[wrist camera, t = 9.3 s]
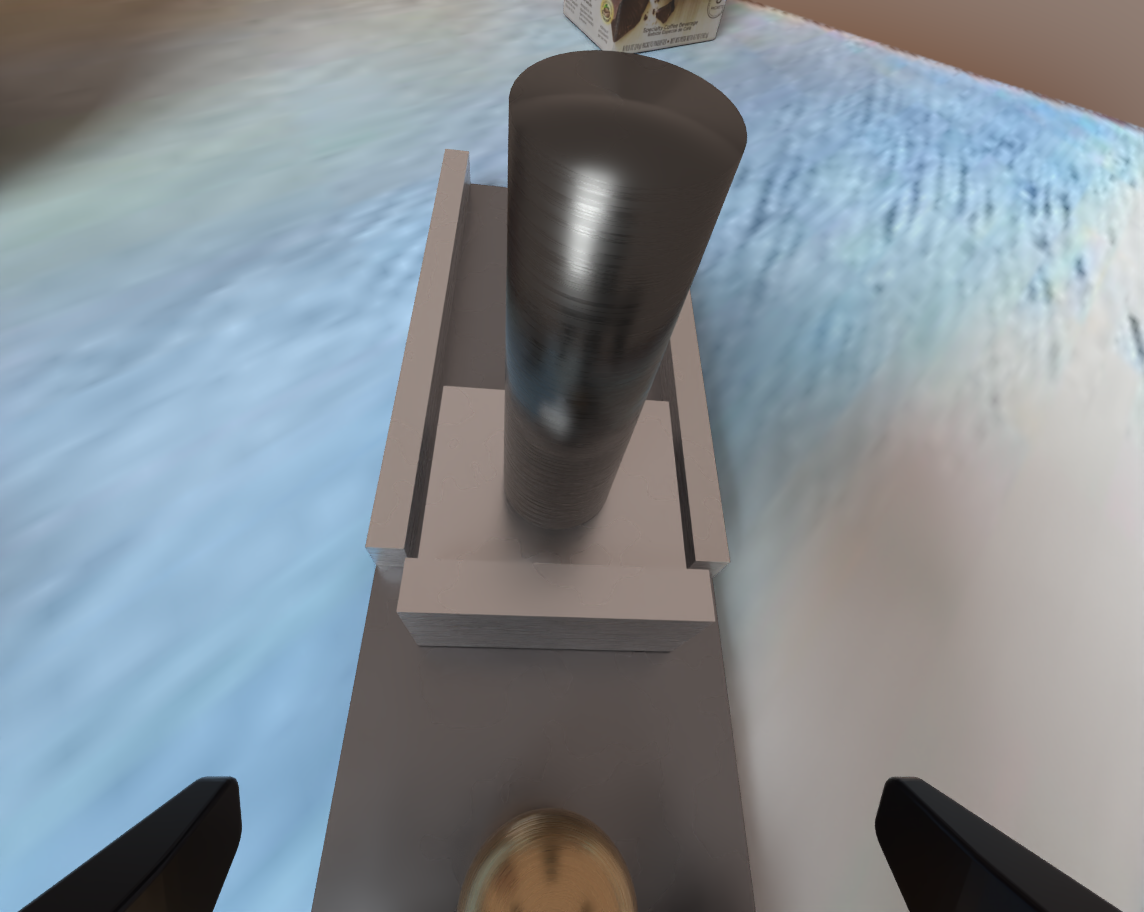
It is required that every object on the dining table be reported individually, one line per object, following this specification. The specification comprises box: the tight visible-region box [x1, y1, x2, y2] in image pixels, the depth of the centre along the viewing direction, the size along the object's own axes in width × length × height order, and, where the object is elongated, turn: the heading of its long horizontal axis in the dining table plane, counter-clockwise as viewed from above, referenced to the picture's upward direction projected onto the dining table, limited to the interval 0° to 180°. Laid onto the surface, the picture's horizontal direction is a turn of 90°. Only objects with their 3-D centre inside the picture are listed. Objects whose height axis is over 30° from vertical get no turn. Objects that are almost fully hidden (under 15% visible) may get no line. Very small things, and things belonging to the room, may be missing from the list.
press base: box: [311, 149, 755, 912], centre depth 17 cm, size 30×10×5 cm, turn 0°
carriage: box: [396, 50, 747, 652], centre depth 12 cm, size 7×7×12 cm
